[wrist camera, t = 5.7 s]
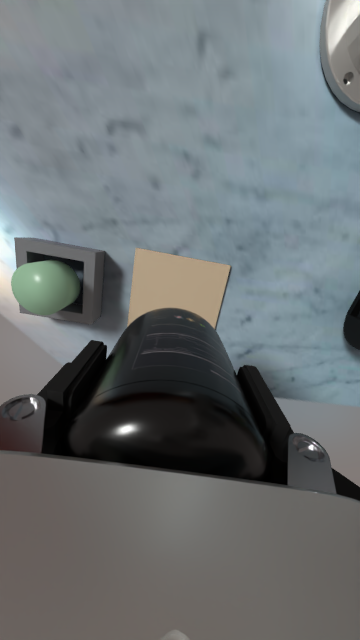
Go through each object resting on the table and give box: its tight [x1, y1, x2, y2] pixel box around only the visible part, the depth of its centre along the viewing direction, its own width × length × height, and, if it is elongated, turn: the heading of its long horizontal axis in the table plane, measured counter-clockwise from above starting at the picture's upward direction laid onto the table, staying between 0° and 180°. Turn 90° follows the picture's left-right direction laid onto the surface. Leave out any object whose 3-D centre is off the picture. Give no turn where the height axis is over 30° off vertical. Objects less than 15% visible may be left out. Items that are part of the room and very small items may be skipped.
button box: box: [14, 238, 105, 325], centre depth 25 cm, size 8×8×3 cm
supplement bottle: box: [53, 308, 273, 483], centre depth 9 cm, size 7×7×12 cm
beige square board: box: [127, 248, 230, 329], centre depth 27 cm, size 11×10×1 cm
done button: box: [11, 260, 80, 315], centre depth 22 cm, size 5×5×3 cm
